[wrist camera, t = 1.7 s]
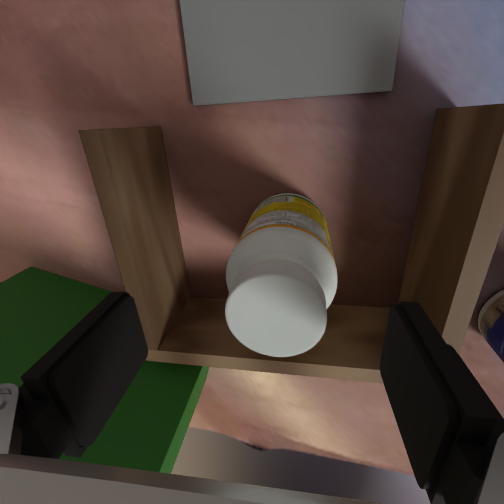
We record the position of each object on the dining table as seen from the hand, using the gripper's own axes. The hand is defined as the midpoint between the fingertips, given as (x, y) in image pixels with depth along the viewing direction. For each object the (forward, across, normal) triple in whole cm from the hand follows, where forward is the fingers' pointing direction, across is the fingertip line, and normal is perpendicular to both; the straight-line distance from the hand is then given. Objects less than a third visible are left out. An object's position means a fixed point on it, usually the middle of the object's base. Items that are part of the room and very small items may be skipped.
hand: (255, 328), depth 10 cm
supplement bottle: (+10, -1, 0) cm, 10 cm away
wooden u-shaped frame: (+10, -1, 0) cm, 10 cm away
